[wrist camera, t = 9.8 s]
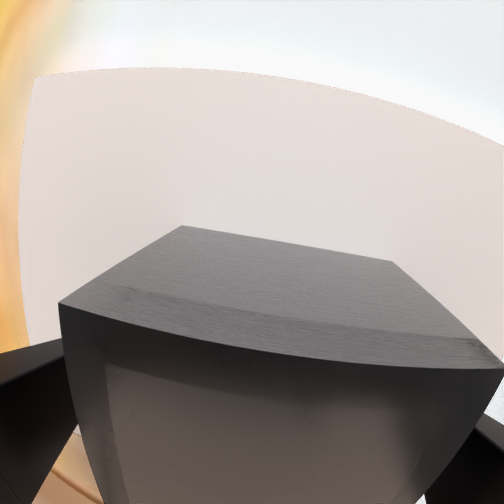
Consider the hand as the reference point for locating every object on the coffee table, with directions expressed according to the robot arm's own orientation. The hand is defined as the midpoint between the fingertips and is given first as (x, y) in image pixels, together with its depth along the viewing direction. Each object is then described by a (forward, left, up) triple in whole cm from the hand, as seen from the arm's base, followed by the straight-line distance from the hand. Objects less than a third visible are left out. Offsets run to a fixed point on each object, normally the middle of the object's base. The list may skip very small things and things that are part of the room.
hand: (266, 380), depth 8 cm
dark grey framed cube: (0, 0, -2) cm, 2 cm away
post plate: (0, 0, -3) cm, 3 cm away
